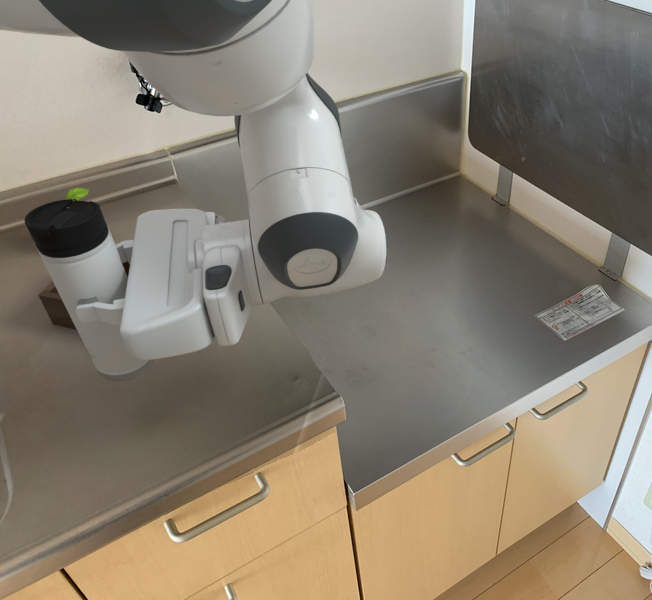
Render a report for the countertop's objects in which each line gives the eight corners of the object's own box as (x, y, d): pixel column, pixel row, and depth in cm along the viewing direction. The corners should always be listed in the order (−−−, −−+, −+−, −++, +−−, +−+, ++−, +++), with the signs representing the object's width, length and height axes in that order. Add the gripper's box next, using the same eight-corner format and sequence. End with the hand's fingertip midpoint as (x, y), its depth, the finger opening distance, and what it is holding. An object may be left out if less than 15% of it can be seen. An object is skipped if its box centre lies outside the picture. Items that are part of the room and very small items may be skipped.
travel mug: (84, 381, 65) (3, 226, 52) (115, 338, 70) (48, 186, 57) (138, 388, 64) (70, 233, 51) (166, 344, 69) (110, 192, 56)
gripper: (220, 187, 68) (88, 203, 66) (223, 307, 53) (52, 333, 51) (230, 234, 72) (107, 251, 70) (236, 357, 57) (79, 383, 55)
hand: (84, 286), depth 60 cm, fingers closed on travel mug, 6 cm apart
